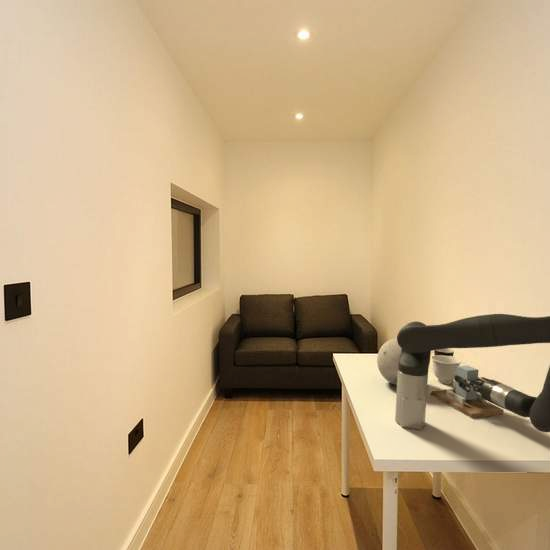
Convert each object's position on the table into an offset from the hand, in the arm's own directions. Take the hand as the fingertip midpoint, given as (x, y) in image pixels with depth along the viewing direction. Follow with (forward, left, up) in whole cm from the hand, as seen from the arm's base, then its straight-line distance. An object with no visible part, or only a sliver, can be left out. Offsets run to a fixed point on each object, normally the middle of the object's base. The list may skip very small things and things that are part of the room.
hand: (461, 377), depth 135 cm
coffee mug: (+38, -1, -9) cm, 39 cm away
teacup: (+22, +1, -9) cm, 24 cm away
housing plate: (-2, -1, -9) cm, 10 cm away
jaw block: (-2, -1, -6) cm, 7 cm away
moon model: (+10, +21, -9) cm, 25 cm away
